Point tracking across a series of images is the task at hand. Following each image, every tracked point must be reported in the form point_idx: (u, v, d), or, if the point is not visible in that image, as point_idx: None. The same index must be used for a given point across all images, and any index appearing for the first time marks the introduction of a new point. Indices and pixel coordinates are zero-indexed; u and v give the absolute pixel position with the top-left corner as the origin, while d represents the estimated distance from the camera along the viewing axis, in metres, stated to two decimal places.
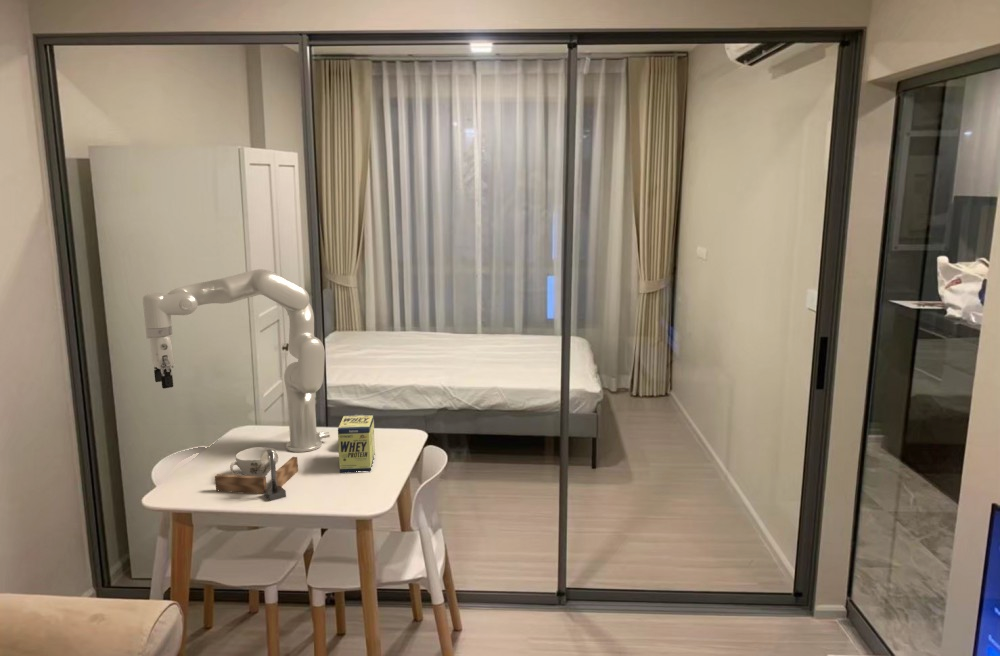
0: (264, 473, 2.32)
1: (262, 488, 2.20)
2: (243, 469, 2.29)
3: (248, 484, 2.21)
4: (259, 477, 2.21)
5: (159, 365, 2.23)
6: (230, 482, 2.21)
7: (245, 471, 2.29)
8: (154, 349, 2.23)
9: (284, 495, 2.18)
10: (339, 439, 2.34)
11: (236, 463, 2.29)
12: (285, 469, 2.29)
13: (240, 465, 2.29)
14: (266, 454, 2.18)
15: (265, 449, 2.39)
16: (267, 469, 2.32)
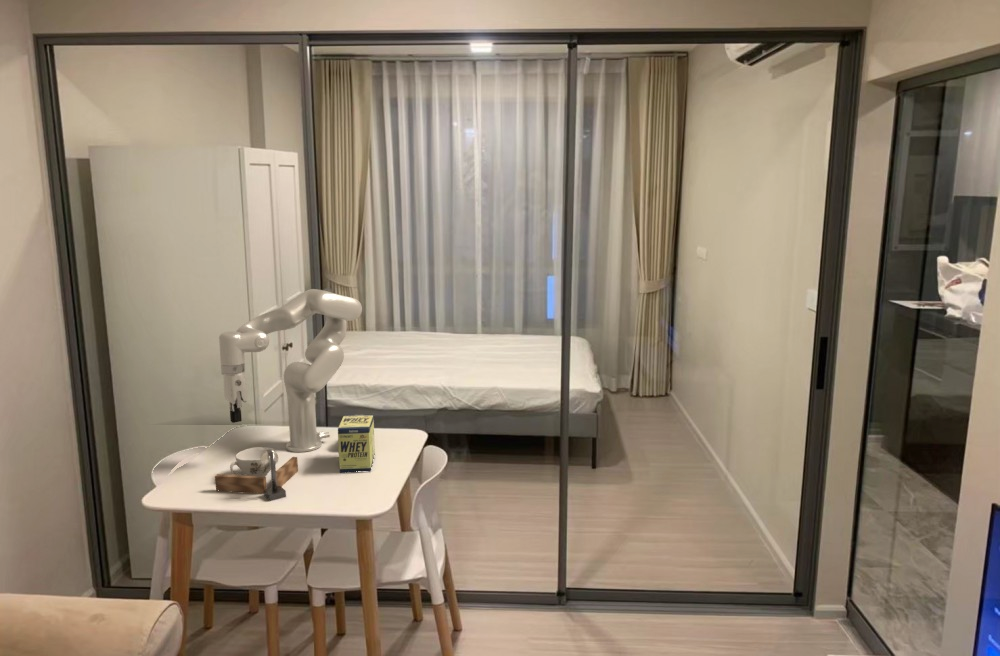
0: (264, 473, 2.32)
1: (262, 488, 2.20)
2: (243, 469, 2.29)
3: (248, 484, 2.21)
4: (259, 477, 2.21)
5: (233, 400, 2.35)
6: (230, 482, 2.21)
7: (245, 471, 2.29)
8: (229, 385, 2.36)
9: (284, 495, 2.18)
10: (339, 439, 2.34)
11: (236, 463, 2.29)
12: (285, 469, 2.29)
13: (240, 465, 2.29)
14: (266, 454, 2.18)
15: (265, 449, 2.39)
16: (267, 469, 2.32)
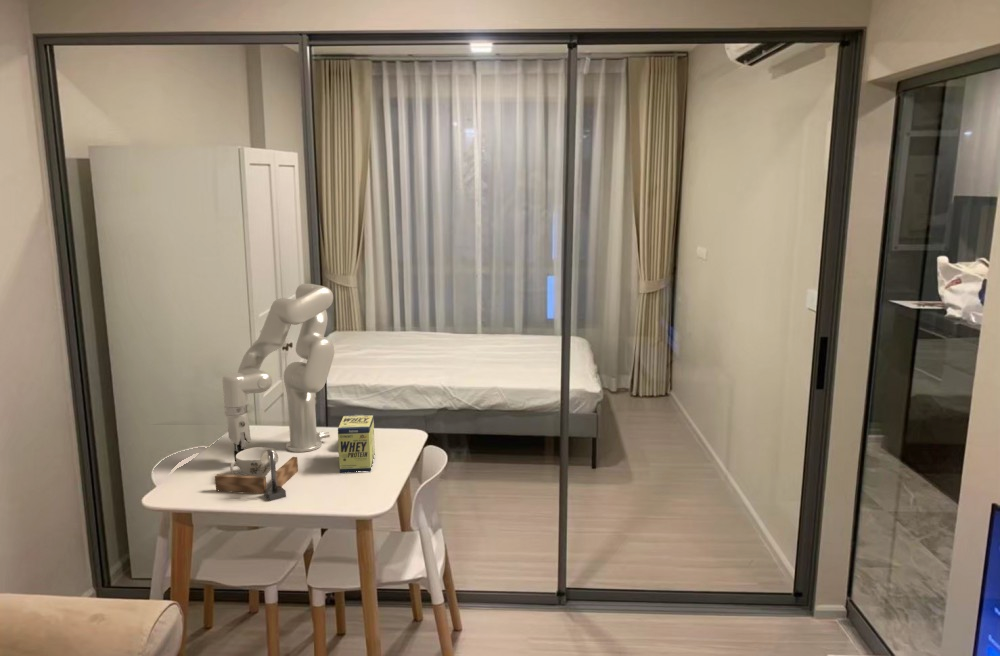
0: (264, 473, 2.32)
1: (262, 488, 2.20)
2: (243, 469, 2.29)
3: (248, 484, 2.21)
4: (259, 477, 2.21)
5: (237, 441, 2.38)
6: (230, 482, 2.21)
7: (245, 471, 2.29)
8: (232, 426, 2.38)
9: (284, 495, 2.18)
10: (339, 439, 2.34)
11: (236, 463, 2.29)
12: (285, 469, 2.29)
13: (240, 465, 2.29)
14: (266, 454, 2.18)
15: (265, 449, 2.39)
16: (267, 469, 2.32)
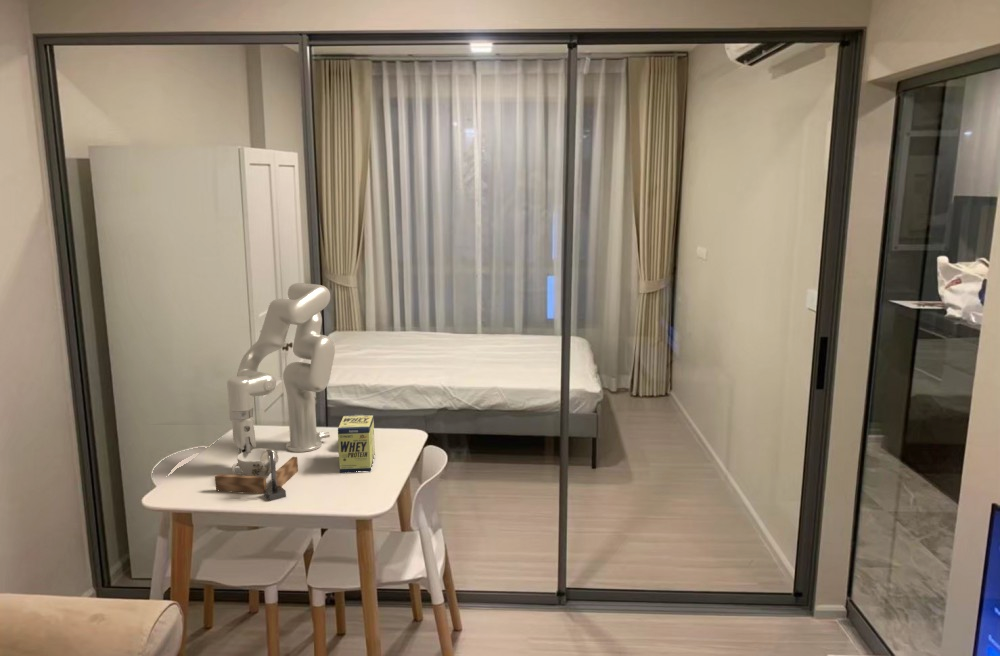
0: (266, 474, 2.31)
1: (262, 488, 2.20)
2: (245, 470, 2.28)
3: (248, 484, 2.21)
4: (259, 477, 2.21)
5: (242, 446, 2.34)
6: (230, 482, 2.21)
7: (247, 472, 2.28)
8: (237, 431, 2.34)
9: (284, 495, 2.18)
10: (339, 439, 2.34)
11: (238, 464, 2.28)
12: (285, 469, 2.29)
13: (242, 466, 2.28)
14: (266, 454, 2.18)
15: (266, 450, 2.38)
16: (269, 470, 2.30)
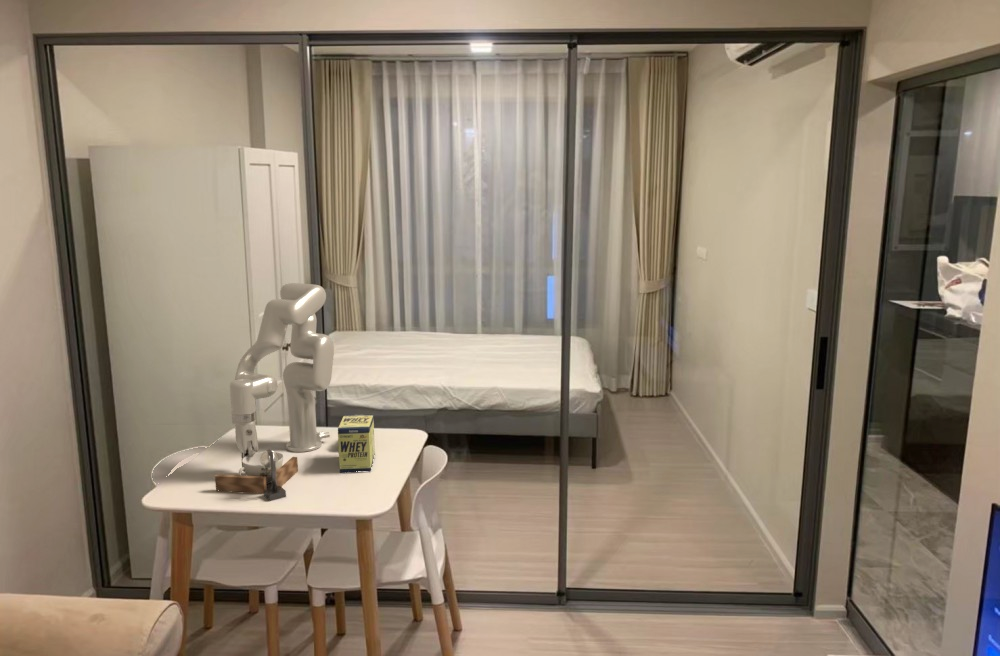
0: None
1: (262, 488, 2.20)
2: (252, 474, 2.24)
3: (248, 484, 2.21)
4: (259, 477, 2.21)
5: (244, 450, 2.29)
6: (230, 482, 2.21)
7: None
8: (239, 434, 2.30)
9: (284, 495, 2.18)
10: (339, 439, 2.34)
11: (244, 469, 2.24)
12: (285, 469, 2.29)
13: (249, 470, 2.24)
14: (266, 454, 2.18)
15: None
16: None
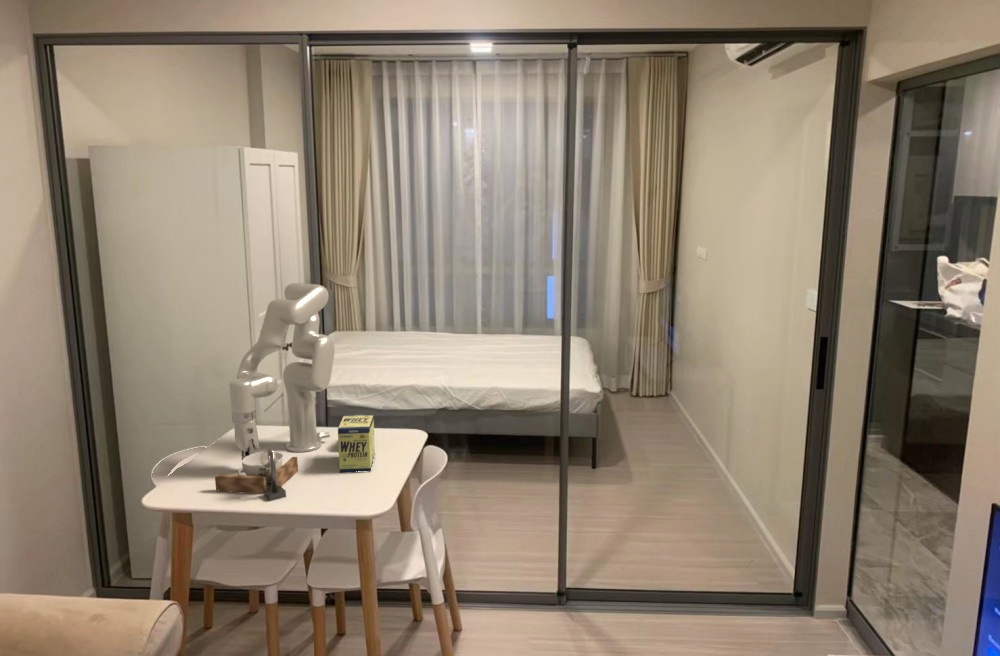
0: None
1: (262, 488, 2.20)
2: (251, 475, 2.25)
3: (248, 484, 2.21)
4: (259, 477, 2.21)
5: (245, 448, 2.32)
6: (230, 482, 2.21)
7: None
8: (240, 433, 2.33)
9: (284, 495, 2.18)
10: (339, 439, 2.34)
11: (243, 469, 2.24)
12: (285, 469, 2.29)
13: (247, 471, 2.24)
14: (266, 454, 2.18)
15: None
16: None
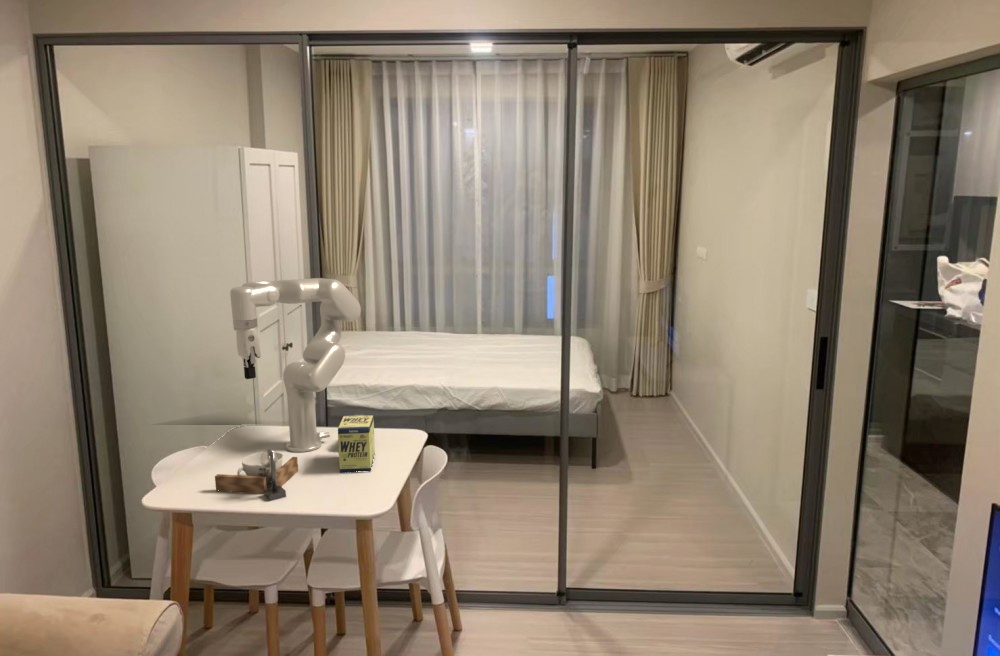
0: None
1: (262, 488, 2.20)
2: (251, 475, 2.25)
3: (248, 484, 2.21)
4: (259, 477, 2.21)
5: (247, 356, 2.31)
6: (230, 482, 2.21)
7: None
8: (242, 340, 2.32)
9: (284, 495, 2.18)
10: (339, 439, 2.34)
11: (243, 469, 2.24)
12: (285, 469, 2.29)
13: (247, 471, 2.24)
14: (266, 454, 2.18)
15: None
16: None
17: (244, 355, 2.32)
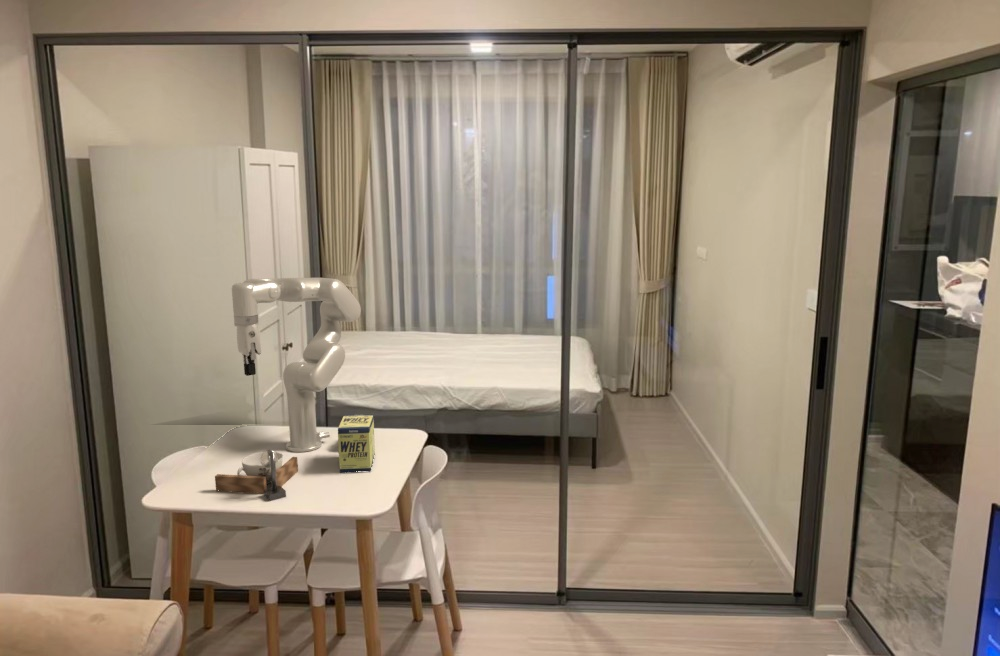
0: None
1: (262, 488, 2.20)
2: (251, 475, 2.25)
3: (248, 484, 2.21)
4: (259, 477, 2.21)
5: (247, 352, 2.31)
6: (230, 482, 2.21)
7: None
8: (242, 336, 2.31)
9: (284, 495, 2.18)
10: (339, 439, 2.34)
11: (243, 469, 2.24)
12: (285, 469, 2.29)
13: (247, 471, 2.24)
14: (266, 454, 2.18)
15: None
16: None
17: (244, 351, 2.32)
